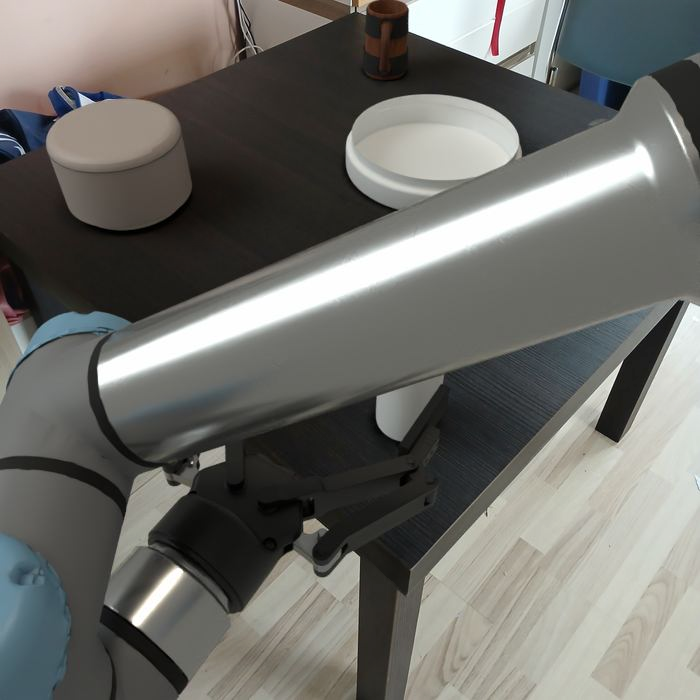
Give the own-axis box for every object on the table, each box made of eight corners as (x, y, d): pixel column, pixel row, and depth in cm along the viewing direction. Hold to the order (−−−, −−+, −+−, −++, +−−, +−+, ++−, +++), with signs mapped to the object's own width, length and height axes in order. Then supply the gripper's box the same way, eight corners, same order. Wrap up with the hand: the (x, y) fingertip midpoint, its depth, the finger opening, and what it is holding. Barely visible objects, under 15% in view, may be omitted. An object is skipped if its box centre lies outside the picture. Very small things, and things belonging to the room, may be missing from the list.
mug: (359, 89, 122) (360, 23, 114) (364, 60, 130) (365, -3, 122) (406, 91, 122) (410, 24, 113) (407, 62, 130) (412, -2, 121)
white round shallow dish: (393, 234, 93) (395, 201, 89) (319, 142, 109) (318, 111, 105) (553, 190, 100) (561, 158, 96) (461, 110, 117) (465, 79, 113)
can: (442, 440, 69) (457, 363, 60) (382, 448, 68) (387, 372, 60) (427, 392, 73) (438, 314, 65) (370, 399, 73) (373, 322, 64)
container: (129, 154, 107) (109, 84, 98) (218, 186, 101) (206, 114, 92) (42, 212, 96) (12, 138, 87) (137, 252, 90) (114, 176, 81)
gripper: (65, 512, 48) (247, 334, 60) (361, 716, 39) (504, 458, 51) (29, 454, 42) (237, 270, 55) (364, 676, 33) (523, 397, 46)
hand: (367, 361), depth 53 cm, fingers open, 13 cm apart
